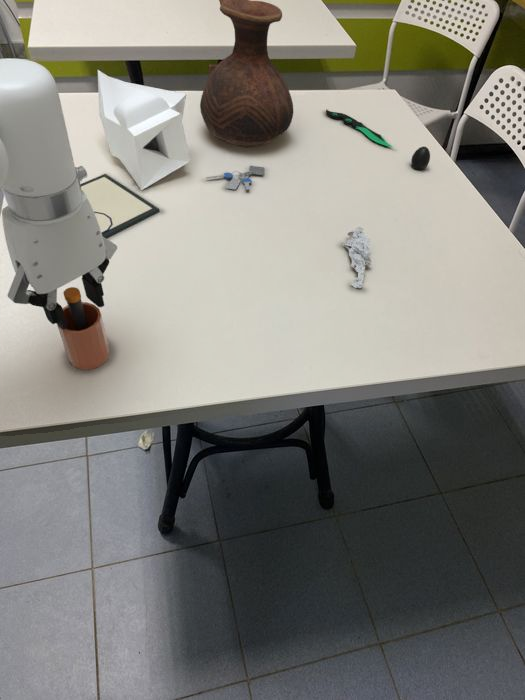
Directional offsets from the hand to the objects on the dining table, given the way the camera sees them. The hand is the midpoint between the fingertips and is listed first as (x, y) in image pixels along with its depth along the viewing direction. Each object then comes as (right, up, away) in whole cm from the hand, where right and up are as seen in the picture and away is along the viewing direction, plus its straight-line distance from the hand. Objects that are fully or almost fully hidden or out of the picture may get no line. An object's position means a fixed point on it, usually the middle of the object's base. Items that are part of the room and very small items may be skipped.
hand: (77, 311), depth 66 cm
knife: (+50, +52, +61) cm, 94 cm away
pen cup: (-1, -6, +7) cm, 9 cm away
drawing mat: (-7, +22, +30) cm, 38 cm away
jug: (+21, +47, +55) cm, 75 cm away
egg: (+62, +39, +52) cm, 90 cm away
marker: (-1, -5, +6) cm, 9 cm away
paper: (+43, +11, +26) cm, 51 cm away
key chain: (+21, +31, +41) cm, 55 cm away
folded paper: (-2, +37, +44) cm, 57 cm away
